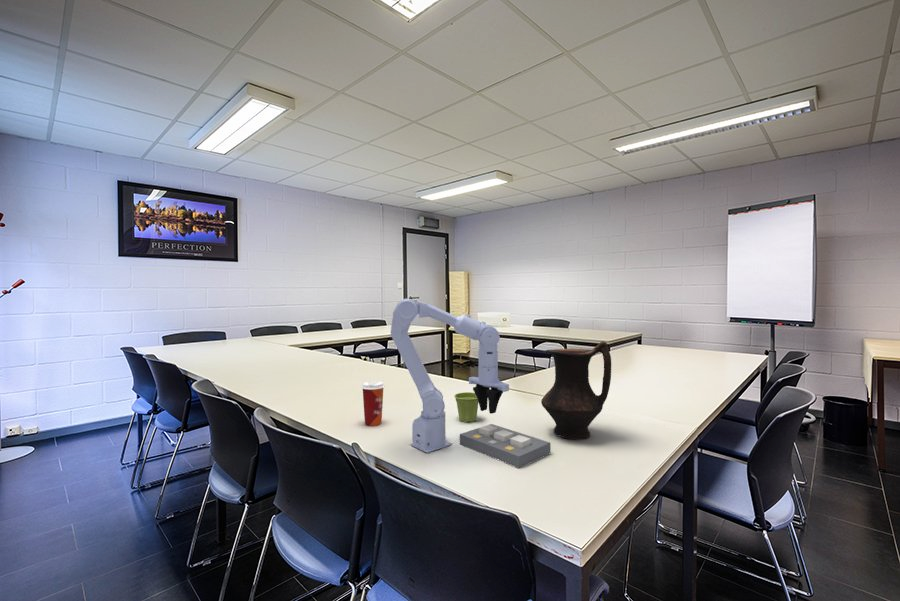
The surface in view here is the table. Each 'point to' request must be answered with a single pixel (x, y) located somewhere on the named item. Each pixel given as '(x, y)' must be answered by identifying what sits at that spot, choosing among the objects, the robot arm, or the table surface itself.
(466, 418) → the plant pot
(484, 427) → the end button
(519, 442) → the end button
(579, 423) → the jug
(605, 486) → the table surface
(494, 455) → the button board
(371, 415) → the paper cup
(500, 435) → the middle button
